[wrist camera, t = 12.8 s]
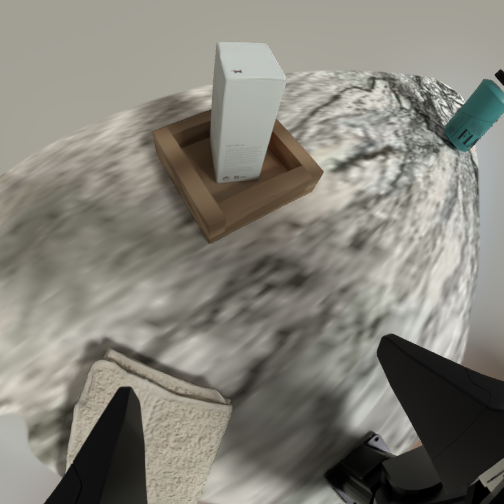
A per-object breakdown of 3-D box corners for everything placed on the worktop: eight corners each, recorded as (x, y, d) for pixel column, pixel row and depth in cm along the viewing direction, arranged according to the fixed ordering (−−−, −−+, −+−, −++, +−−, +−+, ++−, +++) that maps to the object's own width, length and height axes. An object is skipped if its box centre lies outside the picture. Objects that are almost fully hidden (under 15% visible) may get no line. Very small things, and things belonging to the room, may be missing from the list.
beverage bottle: (444, 148, 36) (507, 76, 18) (435, 125, 39) (489, 56, 20) (466, 162, 37) (528, 99, 18) (457, 138, 39) (511, 77, 21)
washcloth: (235, 390, 20) (239, 396, 18) (185, 536, 14) (183, 552, 11) (105, 341, 20) (91, 339, 17) (72, 490, 13) (60, 501, 11)
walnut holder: (312, 191, 28) (323, 171, 24) (209, 243, 24) (209, 226, 21) (250, 118, 30) (254, 97, 27) (156, 154, 27) (152, 131, 24)
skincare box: (259, 181, 26) (289, 80, 15) (215, 184, 25) (223, 79, 14) (248, 136, 28) (268, 42, 17) (209, 139, 27) (214, 41, 16)
